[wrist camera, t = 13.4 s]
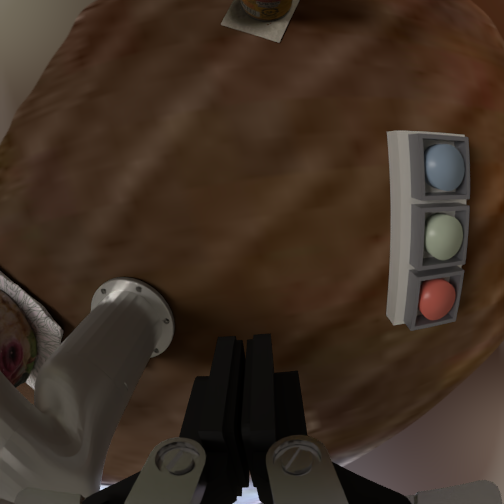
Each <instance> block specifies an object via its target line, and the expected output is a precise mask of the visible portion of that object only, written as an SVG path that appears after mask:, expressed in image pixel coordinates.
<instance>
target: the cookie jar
mask: <svg viewBox="0 0 504 504" xmlns="http://www.w3.org/2000/svg"><path fill="white" fill-rule="evenodd" d="M62 336H63V330H62V328H61V327H60V326H59V325H58V324H57V323H56V321H55V320H54V319H53V318H52V317H51V315H50V314H49V313H48V311H47V310H46V308H45V307H44V306H43V305H42V304H41V303H39V302H38V301H37V300H35V299H34V298H32V297H31V296H30V295H29V294H27V293H26V292H25V291H24V290H22V289H21V288H20V287H19V286H18V285H16V284H15V283H14V282H13V281H12V280H10V279H9V278H8V277H7V276H6V275H5V274H3V273H2V272H1V271H0V371H1V372H2V373H3V375H4V376H5V377H6V378H7V379H8V380H9V381H10V382H11V383H12V385H13V386H14V387H15V388H16V387H17V386H19V385H20V384H22V383H24V382H26V383H27V384H28V385H29V386H31V387H32V388H33V389H34V390H35V382H36V378H37V375H38V372H39V370H40V368H41V367H42V365H43V364H44V363H45V361H46V360H47V359H48V358H49V357H50V356H51V355H52V353H53V352H54V351H55V350H56V349H57V348H58V347H59V346H60V344H61V339H62Z"/></svg>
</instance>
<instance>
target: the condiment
mask: <svg viewBox="0 0 504 504" xmlns="http://www.w3.org/2000/svg"><path fill="white" fill-rule="evenodd" d="M299 1H300V0H234V1H233V2H232V4H231V6H230V8H229V10H228V12H227V14H226V15H225V17H224V19H223V21H222V23H221V25H223V26H227V27H230V28H233V29H237V30H240V31H243V32H247V33H250V34H253V35H256V36H260V37H263V38H266V39H269V40H272V41H275V42H278V43H280V40H281V38H282V36H283V34H284V32H285V30H286V27H287V25H288V23H289V21H290V19H291V17H292V15H293V13H294V11H295V9H296V7H297V5H298V3H299ZM240 9H241V10H240ZM269 23H272V24H269ZM266 24H269V25H266Z"/></svg>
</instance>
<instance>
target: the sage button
mask: <svg viewBox="0 0 504 504" xmlns="http://www.w3.org/2000/svg"><path fill="white" fill-rule="evenodd" d="M462 240H463V230H462V226H461V224H460V222H459V221H458V220H457V219H456V218H454V217H452V216H450V215H447V214H444V213H434V214H432V215H431V216H429V217H428V218H427V219H426V221H425V229H424V250H425V251H426V252H428V253H429V254H430V255H432V256H433V257H435V258H437V259H439V260H447V259H450V258H451V257H453V256H454V255H455V254H456V253H457V252H458V250H459V248H460V246H461V244H462Z"/></svg>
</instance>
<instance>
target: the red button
mask: <svg viewBox="0 0 504 504" xmlns="http://www.w3.org/2000/svg"><path fill="white" fill-rule="evenodd" d="M455 296H456V294H455V289H454V287H453V286H452V285H451V284H450V283H449V282H448V281H446V280H445V279H444V278H437V279H431V280H425V281H424V282H423V283H422V284H421V285H420V293H419V301H418V310H419V311H420V312H421V313H422V314H423V315H424V316H425V317H426V318H427V319H429V320H438V319H440V318H442V317H444V316H445V315H446V314H447V313H448V312H449V311H450V310H451V308H452V306H453V304H454V302H455Z"/></svg>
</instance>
